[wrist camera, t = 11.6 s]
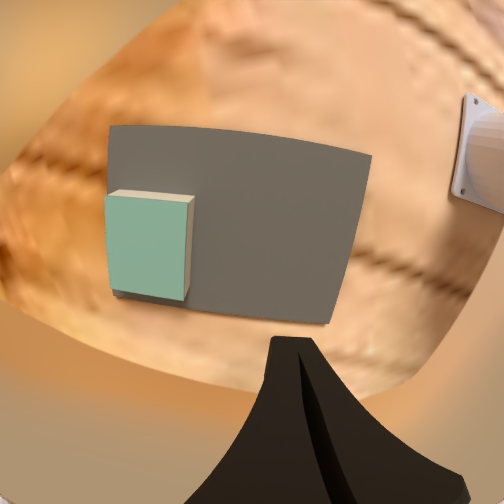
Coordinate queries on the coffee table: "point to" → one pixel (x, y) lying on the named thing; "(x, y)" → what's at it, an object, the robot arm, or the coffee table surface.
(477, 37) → the coffee table surface
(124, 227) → the tile
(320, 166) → the mat
